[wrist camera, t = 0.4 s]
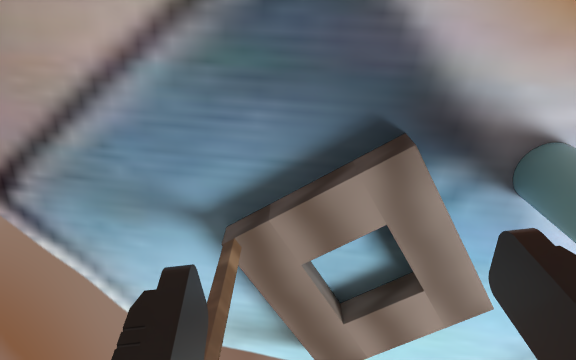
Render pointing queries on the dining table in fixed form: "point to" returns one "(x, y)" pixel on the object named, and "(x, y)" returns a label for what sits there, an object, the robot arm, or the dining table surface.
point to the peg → (550, 184)
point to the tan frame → (337, 232)
